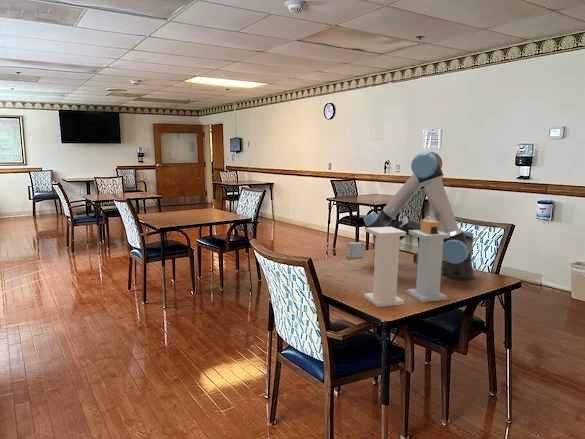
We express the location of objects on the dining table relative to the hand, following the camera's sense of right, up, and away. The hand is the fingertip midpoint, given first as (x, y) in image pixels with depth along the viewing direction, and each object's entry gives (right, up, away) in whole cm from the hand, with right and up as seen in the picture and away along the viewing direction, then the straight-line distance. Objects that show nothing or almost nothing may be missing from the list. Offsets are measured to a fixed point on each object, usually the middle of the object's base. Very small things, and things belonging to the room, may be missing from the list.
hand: (418, 218), depth 191 cm
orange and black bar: (+1, -5, -2) cm, 5 cm away
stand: (-18, -34, -8) cm, 40 cm away
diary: (+27, -26, +49) cm, 61 cm away
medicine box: (-20, -23, +59) cm, 67 cm away
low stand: (+2, -33, -2) cm, 33 cm away
